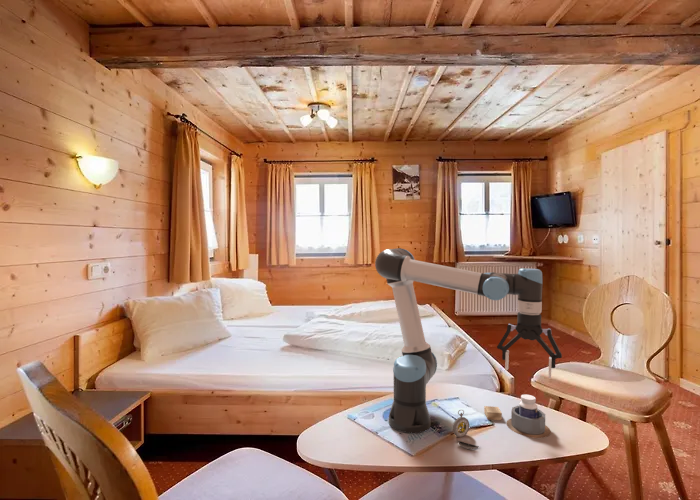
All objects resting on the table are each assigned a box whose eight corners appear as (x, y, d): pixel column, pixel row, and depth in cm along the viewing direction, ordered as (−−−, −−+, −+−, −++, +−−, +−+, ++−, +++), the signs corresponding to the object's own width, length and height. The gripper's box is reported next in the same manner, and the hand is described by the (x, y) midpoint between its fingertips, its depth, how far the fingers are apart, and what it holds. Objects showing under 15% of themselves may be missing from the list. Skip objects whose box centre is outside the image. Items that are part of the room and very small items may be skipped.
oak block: (487, 422, 133) (487, 412, 133) (484, 416, 138) (484, 406, 138) (501, 423, 132) (501, 413, 132) (498, 417, 137) (498, 406, 137)
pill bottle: (540, 429, 124) (540, 400, 124) (522, 428, 125) (522, 400, 125) (534, 421, 130) (533, 393, 130) (517, 420, 130) (516, 393, 130)
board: (503, 434, 125) (503, 430, 125) (508, 417, 137) (509, 414, 137) (550, 445, 118) (550, 442, 118) (551, 426, 130) (551, 423, 130)
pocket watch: (476, 453, 114) (476, 421, 114) (450, 445, 118) (450, 414, 118) (482, 440, 121) (482, 411, 121) (457, 433, 125) (457, 405, 125)
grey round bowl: (510, 429, 126) (510, 415, 125) (513, 417, 135) (513, 403, 135) (544, 438, 120) (544, 422, 120) (545, 424, 129) (545, 409, 129)
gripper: (489, 310, 130) (488, 369, 130) (571, 319, 117) (569, 384, 118) (493, 307, 136) (491, 363, 137) (570, 315, 123) (569, 376, 124)
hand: (527, 373), depth 127 cm, fingers open, 13 cm apart
